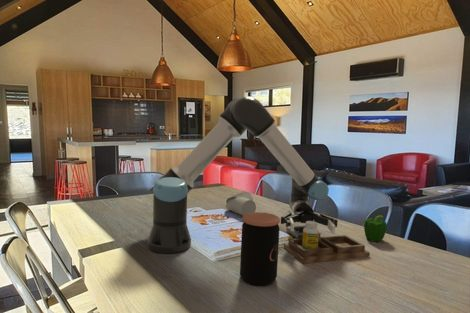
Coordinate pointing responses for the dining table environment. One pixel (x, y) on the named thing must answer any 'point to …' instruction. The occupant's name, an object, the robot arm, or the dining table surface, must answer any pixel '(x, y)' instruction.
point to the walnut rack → (327, 249)
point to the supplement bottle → (310, 235)
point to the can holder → (297, 231)
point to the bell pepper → (375, 228)
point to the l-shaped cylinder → (241, 203)
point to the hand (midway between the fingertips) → (313, 228)
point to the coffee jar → (259, 248)
